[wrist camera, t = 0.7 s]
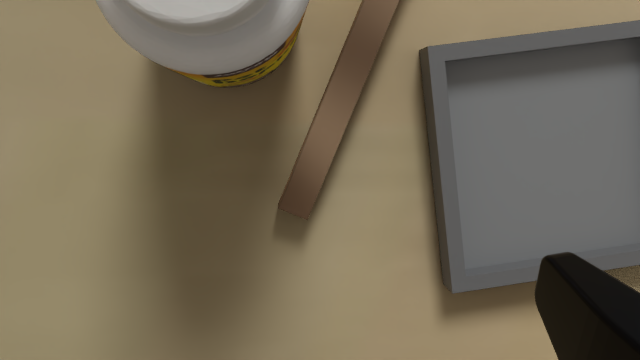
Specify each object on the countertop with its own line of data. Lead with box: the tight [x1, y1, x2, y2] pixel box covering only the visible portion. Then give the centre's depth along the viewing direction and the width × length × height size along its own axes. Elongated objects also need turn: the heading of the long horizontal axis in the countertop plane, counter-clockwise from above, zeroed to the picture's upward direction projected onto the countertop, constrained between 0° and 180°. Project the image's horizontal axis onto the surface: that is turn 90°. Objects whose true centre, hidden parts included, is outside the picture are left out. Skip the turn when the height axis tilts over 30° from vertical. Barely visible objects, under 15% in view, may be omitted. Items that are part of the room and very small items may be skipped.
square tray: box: [419, 20, 640, 294], centre depth 22 cm, size 10×10×1 cm
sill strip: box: [278, 0, 399, 220], centre depth 21 cm, size 12×1×1 cm, turn 157°
